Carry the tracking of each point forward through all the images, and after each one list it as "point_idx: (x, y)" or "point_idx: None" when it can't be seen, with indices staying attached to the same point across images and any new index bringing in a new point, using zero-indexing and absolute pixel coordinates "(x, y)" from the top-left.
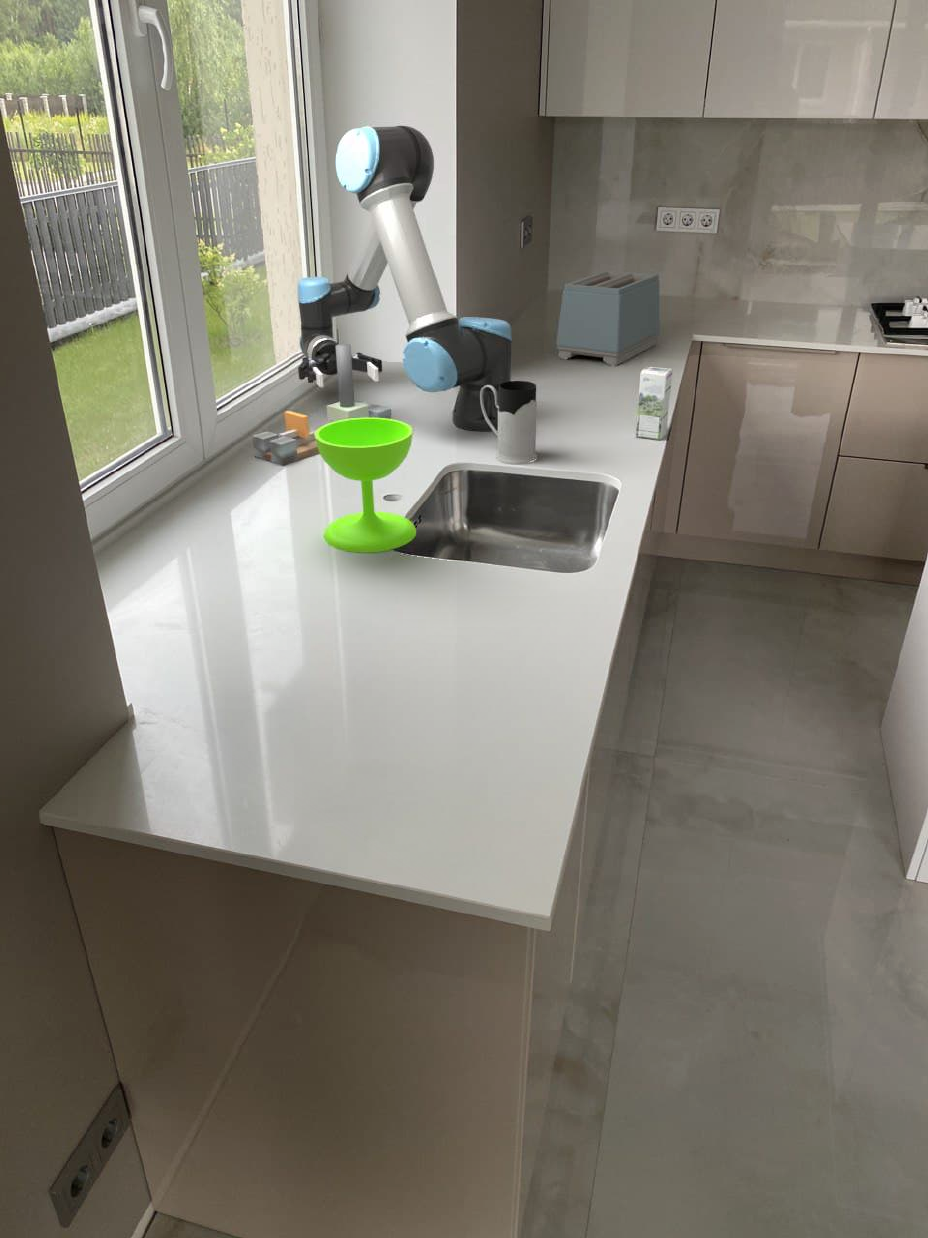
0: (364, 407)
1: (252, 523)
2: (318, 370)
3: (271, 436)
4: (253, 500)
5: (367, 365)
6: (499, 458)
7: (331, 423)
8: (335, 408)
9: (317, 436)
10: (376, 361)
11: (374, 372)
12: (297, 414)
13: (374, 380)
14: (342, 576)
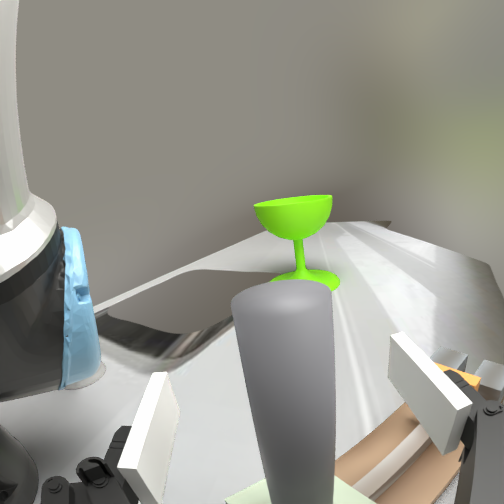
0: (242, 492)
1: (405, 287)
2: (424, 369)
3: (477, 371)
4: (425, 309)
5: (144, 473)
6: (103, 368)
7: (319, 199)
8: (350, 487)
9: (329, 195)
10: (71, 490)
11: (170, 386)
12: (441, 369)
13: (178, 417)
14: (323, 261)
